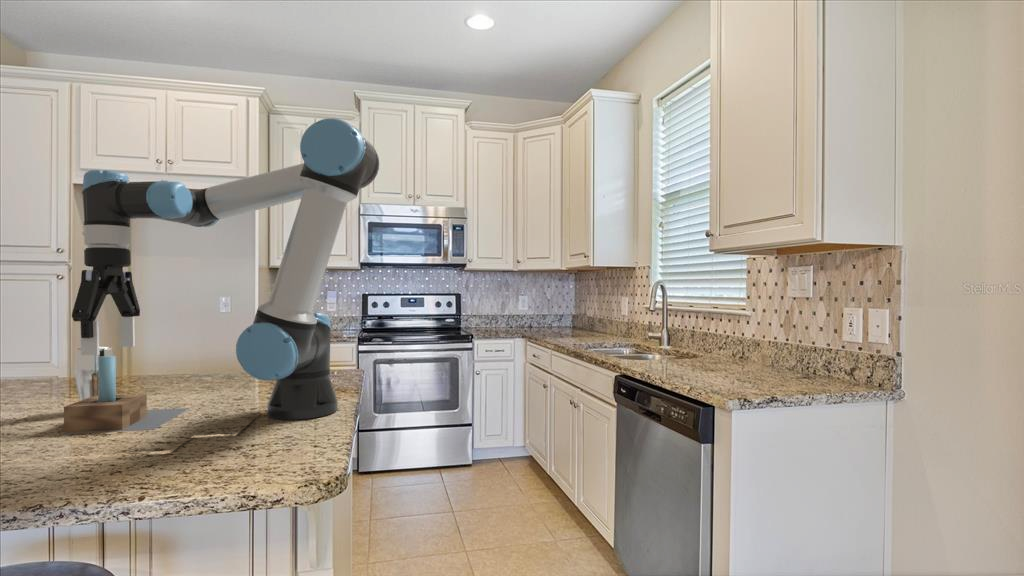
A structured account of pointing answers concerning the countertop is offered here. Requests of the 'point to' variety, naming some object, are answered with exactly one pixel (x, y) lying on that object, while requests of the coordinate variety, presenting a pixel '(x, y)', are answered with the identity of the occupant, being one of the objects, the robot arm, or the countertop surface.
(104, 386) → the dowel
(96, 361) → the beer glass
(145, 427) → the mat
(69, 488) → the countertop surface
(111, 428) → the wooden peg holder
